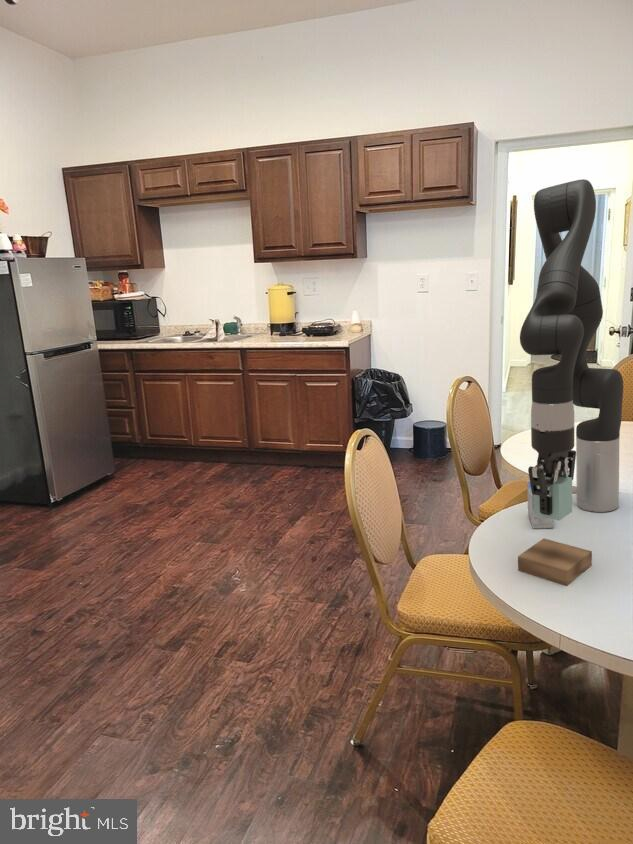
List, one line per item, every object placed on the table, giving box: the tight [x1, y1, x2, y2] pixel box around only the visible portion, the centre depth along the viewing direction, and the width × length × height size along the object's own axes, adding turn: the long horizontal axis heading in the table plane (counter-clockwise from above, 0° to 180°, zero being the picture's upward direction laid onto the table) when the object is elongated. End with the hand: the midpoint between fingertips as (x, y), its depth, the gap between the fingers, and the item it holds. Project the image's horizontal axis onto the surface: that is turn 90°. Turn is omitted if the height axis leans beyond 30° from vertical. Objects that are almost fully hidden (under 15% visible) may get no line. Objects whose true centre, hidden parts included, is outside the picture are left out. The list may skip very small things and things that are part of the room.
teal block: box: [534, 476, 573, 521], centre depth 116 cm, size 5×5×7 cm
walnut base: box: [517, 538, 593, 587], centre depth 119 cm, size 10×10×3 cm
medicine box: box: [526, 481, 554, 530], centre depth 140 cm, size 8×4×9 cm, turn 168°
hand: (553, 508), depth 117 cm, fingers closed on teal block, 5 cm apart
